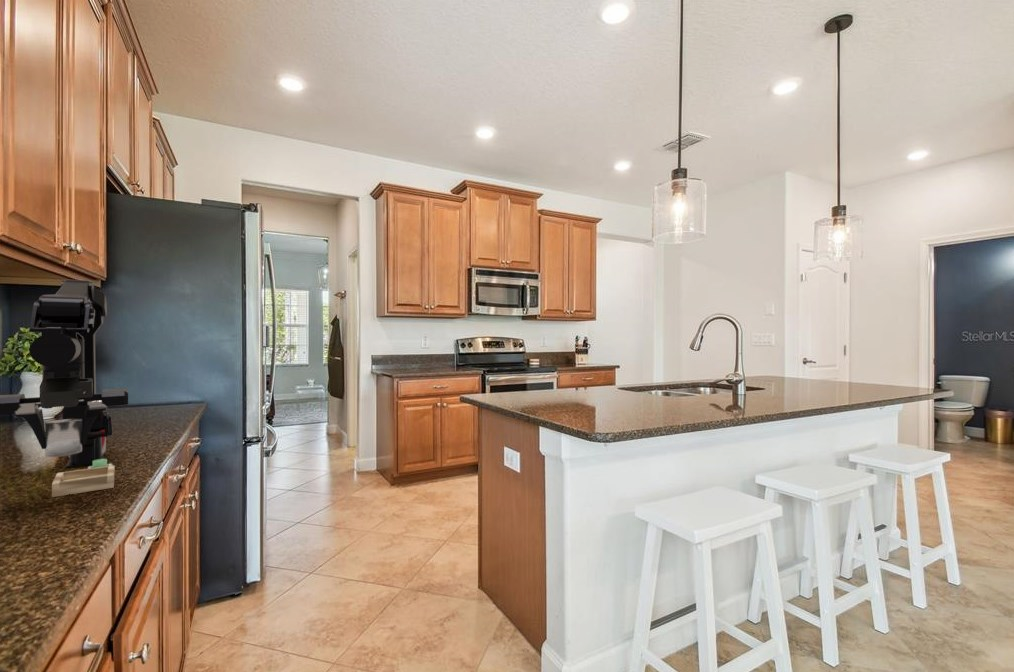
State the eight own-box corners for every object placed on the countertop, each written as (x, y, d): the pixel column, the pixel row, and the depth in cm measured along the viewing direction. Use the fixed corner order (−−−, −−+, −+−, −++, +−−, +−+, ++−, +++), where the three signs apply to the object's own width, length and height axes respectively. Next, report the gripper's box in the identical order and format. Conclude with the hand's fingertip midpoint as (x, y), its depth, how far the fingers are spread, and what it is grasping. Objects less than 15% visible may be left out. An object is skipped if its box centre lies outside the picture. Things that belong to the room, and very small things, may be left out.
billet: (47, 452, 88) (47, 420, 87) (83, 448, 91) (83, 417, 91) (43, 458, 84) (43, 425, 84) (81, 453, 87) (81, 421, 87)
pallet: (57, 484, 96) (57, 472, 96) (114, 476, 102) (114, 465, 102) (51, 497, 89) (51, 484, 89) (113, 487, 95) (113, 475, 95)
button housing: (88, 474, 103) (88, 466, 103) (112, 471, 105) (112, 463, 105) (87, 479, 99) (87, 471, 99) (111, 475, 102) (111, 467, 102)
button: (92, 473, 102) (92, 459, 102) (107, 471, 104) (107, 458, 104) (92, 476, 101) (92, 462, 101) (106, 474, 102) (106, 460, 102)
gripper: (-22, 368, 75) (-21, 465, 75) (128, 364, 87) (128, 447, 87) (-6, 364, 84) (-6, 450, 84) (128, 360, 95) (128, 436, 96)
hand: (64, 446), depth 87 cm, fingers closed on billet, 5 cm apart
